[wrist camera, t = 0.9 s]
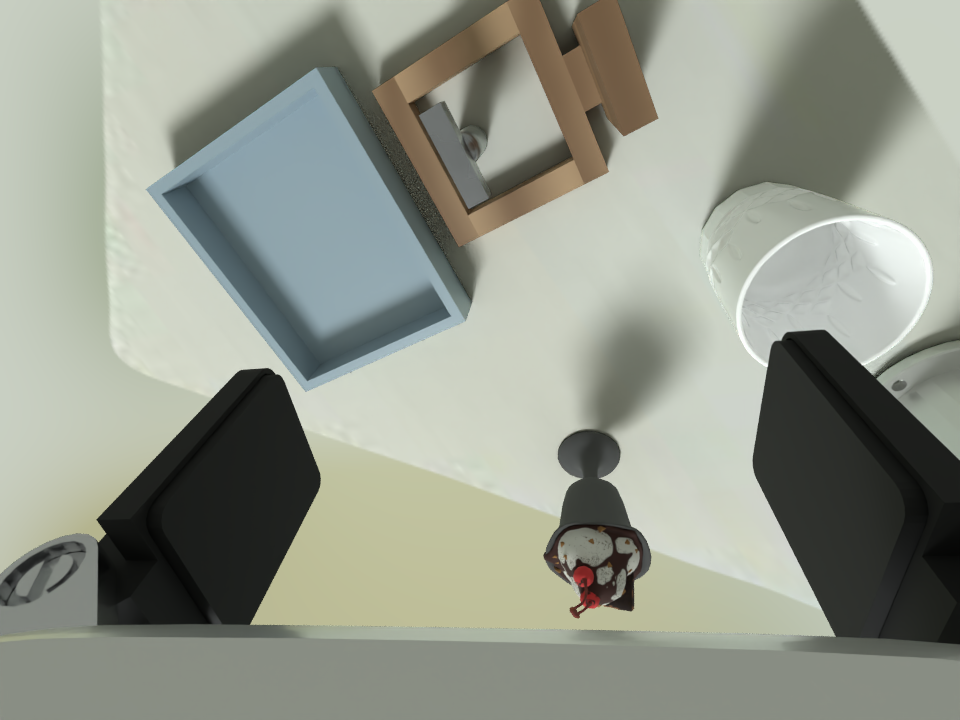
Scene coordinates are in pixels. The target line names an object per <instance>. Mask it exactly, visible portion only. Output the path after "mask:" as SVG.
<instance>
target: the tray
mask: <svg viewBox="0 0 960 720" xmlns="http://www.w3.org/2000/svg"><path fill="white" fill-rule="evenodd" d="M146 190H147V191H148V193H149V194H150V195H151V196H152V198H153V199H154V200H155V201H156V203H157V204H158V205H159V207H160V208H161V209H162V210H163V212H164V213H165V214H166V215H167V217H168V218H169V219H170V220H171V222H172V223H173V224H174V226H175V227H176V228H177V229H178V231H179V232H180V233H181V234H182V236H183V237H184V238H185V239H186V241H187V242H188V243H189V245H190V246H191V247H192V248H193V250H194V251H195V252H196V253H197V255H198V256H199V257H200V259H201V260H202V261H203V262H204V264H205V265H206V266H207V267H208V269H209V270H210V271H211V272H212V274H213V275H214V276H215V278H216V279H217V280H218V281H219V283H220V284H221V285H222V286H223V288H224V289H225V290H226V291H227V293H228V294H229V295H230V297H231V298H232V299H233V300H234V302H235V303H236V304H237V305H238V307H239V308H240V309H241V310H242V312H243V313H244V314H245V316H246V317H247V318H248V319H249V321H250V322H251V323H252V324H253V326H254V327H255V328H256V330H257V331H258V332H259V333H260V335H261V336H262V337H263V338H264V340H265V341H266V342H267V343H268V345H269V346H270V347H271V349H272V350H273V351H274V352H275V354H276V355H277V356H278V357H279V359H280V360H281V361H282V362H283V364H284V365H285V366H286V368H287V369H288V370H289V371H290V373H291V374H292V375H293V376H294V378H295V379H296V380H297V381H298V383H299V384H300V385H301V387H302V388H303V389H304V390H305V392H307V391H309V390H311V389H313V388H316V387H318V386H320V385H322V384H325V383H327V382H329V381H331V380H334V379H336V378H338V377H340V376H343V375H345V374H347V373H349V372H352V371H354V370H356V369H358V368H361V367H363V366H365V365H367V364H370V363H372V362H374V361H377V360H379V359H381V358H383V357H386V356H388V355H390V354H392V353H395V352H397V351H399V350H401V349H404V348H406V347H408V346H410V345H413V344H415V343H417V342H419V341H422V340H424V339H426V338H428V337H431V336H433V335H435V334H437V333H440V332H442V331H444V330H446V329H449V328H451V327H453V326H456V325H458V324H460V323H462V322H465V321H466V318H467V316H468V313H469V310H470V307H471V304H472V302H471V300H470V298H469V296H468V295H467V293H466V291H465V290H464V288H463V286H462V284H461V283H460V281H459V279H458V277H457V276H456V274H455V272H454V270H453V269H452V267H451V265H450V263H449V262H448V260H447V258H446V256H445V255H444V253H443V251H442V249H441V248H440V246H439V244H438V243H437V241H436V239H435V237H434V236H433V234H432V232H431V230H430V229H429V227H428V225H427V223H426V222H425V220H424V218H423V216H422V215H421V213H420V211H419V209H418V208H417V206H416V204H415V202H414V201H413V199H412V197H411V195H410V194H409V192H408V190H407V189H406V187H405V185H404V183H403V182H402V180H401V178H400V176H399V175H398V173H397V171H396V169H395V168H394V166H393V164H392V162H391V161H390V159H389V157H388V155H387V154H386V152H385V150H384V148H383V147H382V145H381V143H380V142H379V140H378V138H377V136H376V135H375V133H374V131H373V129H372V128H371V126H370V124H369V122H368V121H367V119H366V117H365V115H364V114H363V112H362V110H361V108H360V107H359V105H358V103H357V101H356V100H355V98H354V96H353V94H352V93H351V91H350V89H349V88H348V86H347V84H346V82H345V81H344V79H343V77H342V75H341V74H340V72H339V70H338V68H337V67H316V68H314V69H313V70H312V71H310V72H309V73H307V74H306V75H305V76H303V77H302V78H300V79H299V80H298V81H296V82H295V83H293V84H292V85H291V86H289V87H288V88H287V89H285V90H284V91H282V92H281V93H280V94H278V95H277V96H275V97H274V98H273V99H271V100H270V101H268V102H267V103H266V104H264V105H263V106H261V107H260V108H259V109H257V110H256V111H254V112H253V113H252V114H250V115H249V116H247V117H246V118H245V119H243V120H242V121H240V122H239V123H238V124H236V125H235V126H233V127H232V128H231V129H229V130H228V131H226V132H225V133H224V134H222V135H221V136H219V137H218V138H217V139H215V140H214V141H212V142H211V143H210V144H208V145H207V146H205V147H204V148H203V149H201V150H200V151H199V152H197V153H196V154H194V155H193V156H192V157H190V158H189V159H187V160H186V161H185V162H183V163H182V164H180V165H179V166H178V167H176V168H175V169H173V170H172V171H171V172H169V173H168V174H166V175H165V176H164V177H162V178H161V179H159V180H158V181H157V182H155V183H154V184H152V185H151V186H150V187H148V188H147V189H146Z"/></svg>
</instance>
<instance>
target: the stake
mask: <svg viewBox="0 0 960 720" xmlns="http://www.w3.org/2000/svg"><path fill="white" fill-rule="evenodd" d="M419 117H420V119H421V121H422V122H423V124H424V126H425V128H426V130H427V132H428V134H429V136H430V137H431V139H432V141H433V143H434V145H435V147H436V149H437V151H438V152H439V154H440V156H441V158H442V160H443V162H444V164H445V166H446V168H447V169H448V171H449V173H450V175H451V177H452V179H453V181H454V183H455V184H456V186H457V188H458V190H459V192H460V194H461V196H462V198H463V199H464V201H465V203H466V205H467V207H468V209H470V208H472V207H474V206H475V205H477V204H479V203H481V202H483V201H485V200H487V199H489V197H490V195H491V192H490V190H489V188H488V186H487V184H486V182H485V180H484V178H483V176H482V174H481V172H480V170H479V168H478V166H477V164H476V161H477V160H478V158H479V157H480V156H481V155H482V153H483V152H484V151H485V149H486V146H487V137H486V134H485V133H484V131H483V130H482V129H481V128H479V127H478V126H474V125H470V126H466V127H465V128H463V129H462V130H459V128H458V126H457V124H456V123H455V121H454V119H453V117H452V115H451V113H450V111H449V109H448V107H447V105H446V103H445V101H442V102H440V103H438V104H436V105H435V106H433V107H432V108H430V109H428V110H427V111H425V112H424V113H422V114H420V115H419Z"/></svg>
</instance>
